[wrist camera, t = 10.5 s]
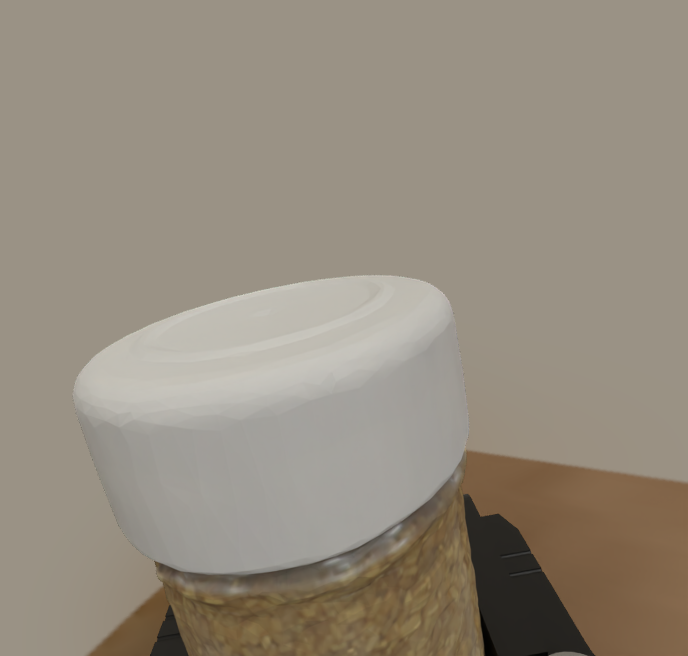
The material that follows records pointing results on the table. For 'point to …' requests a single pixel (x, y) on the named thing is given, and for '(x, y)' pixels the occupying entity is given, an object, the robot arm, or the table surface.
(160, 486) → the spice jar
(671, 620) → the table surface
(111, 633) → the table surface
